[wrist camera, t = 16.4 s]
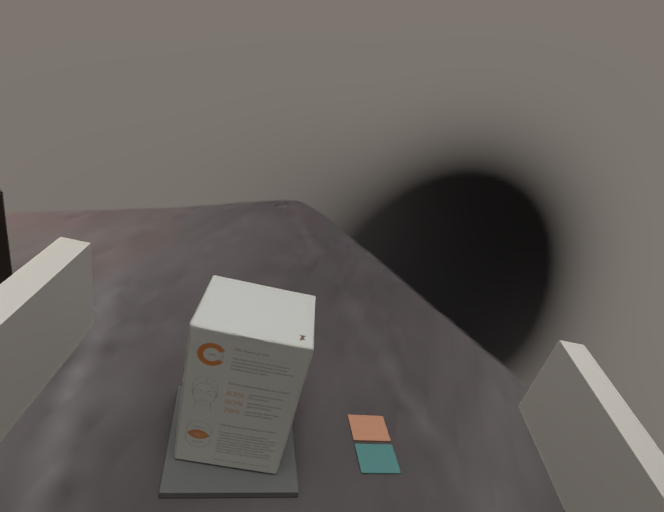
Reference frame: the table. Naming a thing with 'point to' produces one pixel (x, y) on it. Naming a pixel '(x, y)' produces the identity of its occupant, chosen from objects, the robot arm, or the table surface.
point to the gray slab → (224, 474)
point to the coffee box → (4, 245)
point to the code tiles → (373, 445)
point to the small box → (243, 374)
